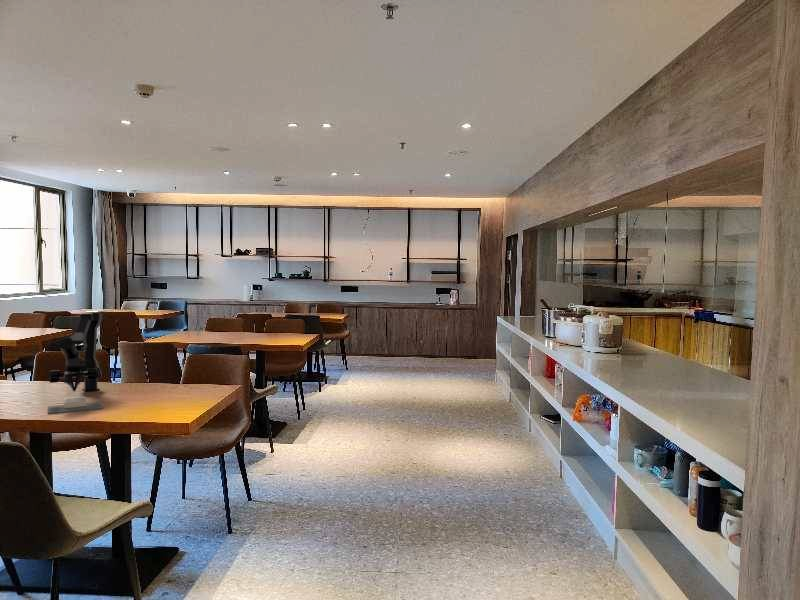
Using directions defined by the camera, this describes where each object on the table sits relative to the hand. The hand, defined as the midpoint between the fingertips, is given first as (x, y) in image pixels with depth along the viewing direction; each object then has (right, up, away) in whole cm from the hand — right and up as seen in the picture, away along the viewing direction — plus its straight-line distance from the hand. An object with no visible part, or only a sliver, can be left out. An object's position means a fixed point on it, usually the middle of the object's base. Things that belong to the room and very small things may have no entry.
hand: (74, 390), depth 252 cm
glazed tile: (-2, -4, +3) cm, 5 cm away
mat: (+3, -7, -4) cm, 9 cm away
